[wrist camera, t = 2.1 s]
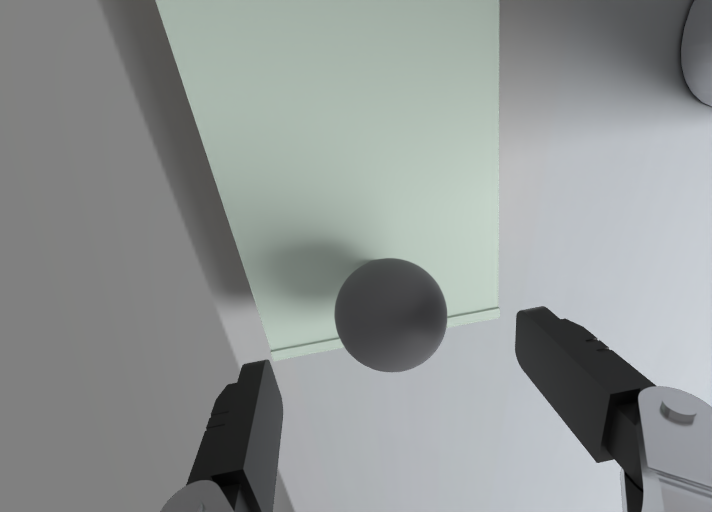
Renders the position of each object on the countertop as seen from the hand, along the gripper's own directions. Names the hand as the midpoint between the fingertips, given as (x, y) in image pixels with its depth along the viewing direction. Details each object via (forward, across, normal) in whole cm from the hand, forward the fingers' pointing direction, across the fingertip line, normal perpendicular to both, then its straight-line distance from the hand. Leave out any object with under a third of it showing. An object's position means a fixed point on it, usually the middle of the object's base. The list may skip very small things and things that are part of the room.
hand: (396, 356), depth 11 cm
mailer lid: (+9, 0, -5) cm, 11 cm away
